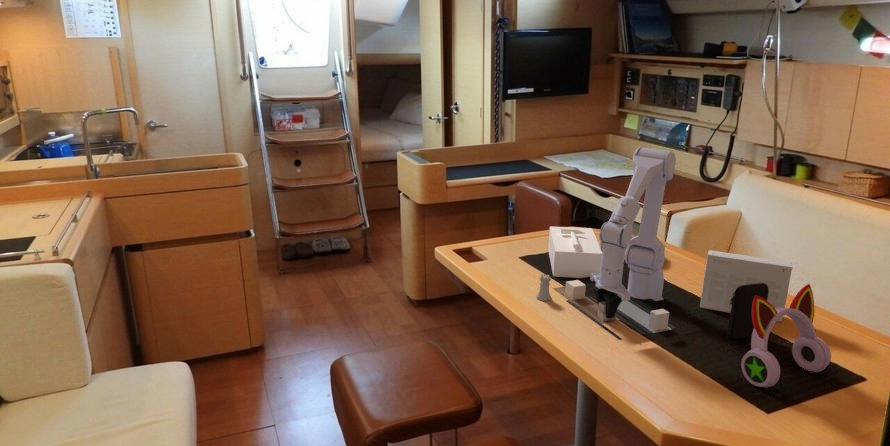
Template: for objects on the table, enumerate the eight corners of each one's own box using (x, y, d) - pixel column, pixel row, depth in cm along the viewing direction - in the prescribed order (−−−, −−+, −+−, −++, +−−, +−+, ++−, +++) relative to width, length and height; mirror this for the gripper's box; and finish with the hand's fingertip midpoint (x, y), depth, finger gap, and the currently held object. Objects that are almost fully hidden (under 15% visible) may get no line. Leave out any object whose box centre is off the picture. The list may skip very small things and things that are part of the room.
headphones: (768, 396, 137) (785, 312, 131) (731, 373, 146) (746, 293, 139) (828, 377, 145) (847, 297, 139) (790, 357, 154) (806, 280, 147)
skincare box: (781, 315, 176) (792, 261, 171) (782, 323, 171) (793, 268, 166) (700, 300, 184) (708, 248, 179) (699, 307, 179) (707, 254, 174)
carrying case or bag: (728, 342, 160) (737, 288, 155) (719, 337, 162) (729, 284, 158) (763, 337, 163) (773, 284, 158) (754, 332, 165) (764, 280, 161)
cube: (576, 292, 184) (577, 279, 183) (584, 298, 181) (585, 285, 179) (564, 294, 183) (565, 281, 181) (572, 300, 179) (573, 286, 178)
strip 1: (569, 288, 189) (571, 271, 188) (619, 323, 168) (622, 304, 166) (552, 291, 187) (553, 274, 185) (600, 326, 166) (602, 307, 164)
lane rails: (617, 296, 185) (618, 291, 185) (675, 332, 164) (675, 327, 164) (565, 304, 179) (566, 300, 178) (618, 344, 158) (619, 339, 157)
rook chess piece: (551, 305, 178) (553, 279, 176) (534, 304, 179) (536, 278, 176) (551, 299, 182) (553, 273, 180) (536, 297, 183) (537, 272, 181)
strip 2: (614, 296, 185) (616, 278, 183) (671, 332, 164) (674, 313, 162) (597, 299, 183) (599, 281, 181) (653, 336, 162) (655, 316, 160)
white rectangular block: (589, 251, 221) (592, 222, 218) (599, 279, 198) (603, 246, 194) (548, 249, 222) (550, 220, 219) (553, 277, 199) (555, 244, 195)
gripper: (582, 259, 169) (578, 306, 173) (616, 279, 156) (610, 329, 160) (604, 256, 172) (600, 302, 176) (639, 276, 159) (633, 325, 163)
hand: (606, 315), depth 168 cm, fingers closed on strip 1, 2 cm apart
